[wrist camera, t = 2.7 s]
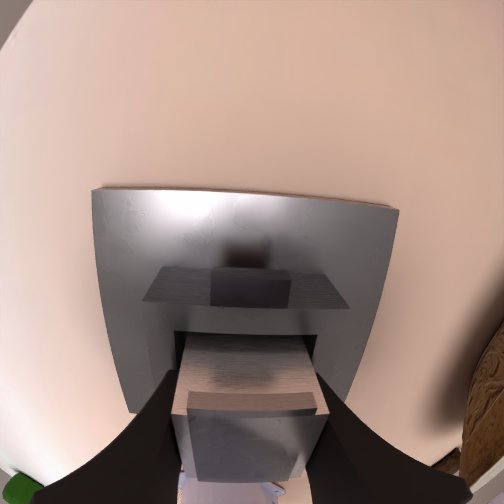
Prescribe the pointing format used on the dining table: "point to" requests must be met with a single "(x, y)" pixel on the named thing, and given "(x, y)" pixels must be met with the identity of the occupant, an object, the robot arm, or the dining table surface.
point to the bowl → (485, 418)
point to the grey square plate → (236, 275)
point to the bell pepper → (20, 489)
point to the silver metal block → (246, 407)
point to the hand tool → (450, 463)
